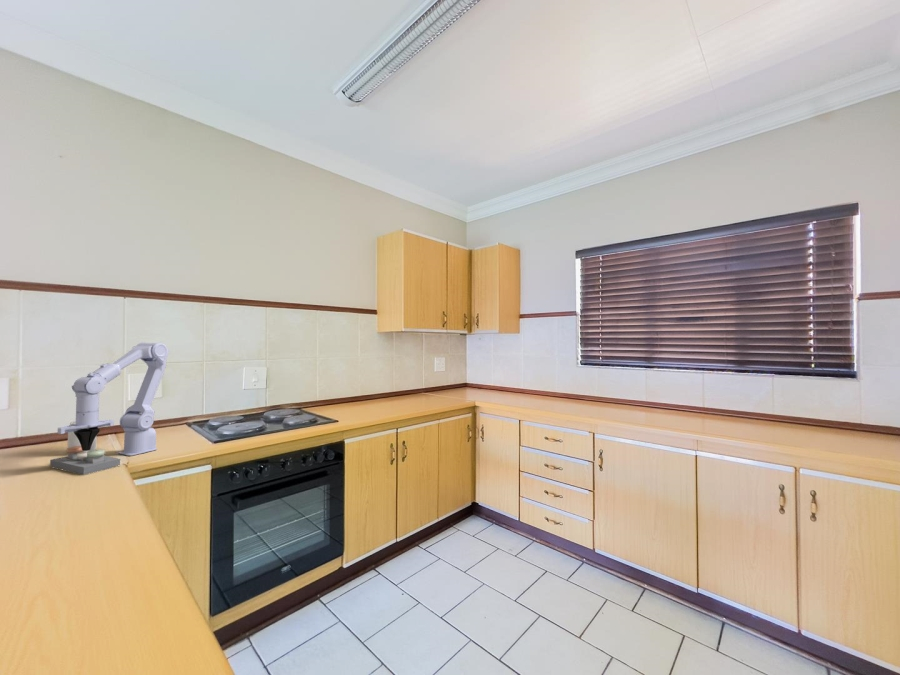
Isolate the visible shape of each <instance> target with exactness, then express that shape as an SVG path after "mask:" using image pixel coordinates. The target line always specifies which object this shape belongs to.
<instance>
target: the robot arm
mask: <svg viewBox="0 0 900 675" xmlns="http://www.w3.org/2000/svg"><path fill="white" fill-rule="evenodd" d="M169 353H170V350H169V349H168V347H167V345H166V344H165V343H162V342H138V343H137V344H136V345H134V346H132V348H131V350H129V351H128V352H126V353H125V354H124V355H122V356H121V357H120V358H118V359H116V361H114V362H113V363H109V362H108V363H102V364H101V365H99V368H97V369H96V370H94V371H92V372H88V373H87V375H86V376H85V377H83V376H82V377H79V378H77V380H75V381H74V383H73V385H71V388H72V391H73V392H74V393H75V397H76V399H75V400H76V401H75V403H76V404H75V421H76V424H75V425H70V424H69V425H70V426H69V425H66V426H62V427H57V434H58V435H64V434H68V432H74V434H75V435H76V437H77V438H78V440H79V442H80V444H81V447H82V450H83V451H87V450H90V449H91V446H92V443H93V441H94V439H95V437H96V436H97V437H98V434H99V433H100V431H101V430H100V428H103V427H111V426H114V422H115V420H114V419H107V420H106V419H105V420H99V413H100V412H99V411H100V410H99V409H100V407H99V406H100V392H102V391H103V390H104V388H105V386H106V385H107V384H108V383H109V382H111V381H112V380H114V379H115V378H117V377H118V376H120V375H121V371H122V370H124V369H125V368H126V367H128V366H130V365H132V364H133V363H135V362H137V361H139V360H141V361H142V362H144V363H145V364H146V365H147V367H148V368H147V370H146V373H145V375H144V378H143V380H142V382H141V385H140V388H139V390H138V392H137V396H136V397H135V400H134V403H133V404H132V405H131V406H128V408H127V409H126V410H125V412H124V414H123V415H121V417H120V419H119V425H120V427H121V428H123V431H124V438H123V440H124V443H123V451H119V452H118V453H120V455H123V456H124V455H125V456H129V457H130V456H131V457H132V456H137V455H141V454H145V453H149V452H153V451H157V450H158V448H157V432H156V430H155V428H154V427H152V426H153V424H154V421H155V420H154V416H155V410H154V409H153V408H152V405H153V402H154V399H155V397H156V393H157V391H158V390H159V389H158V388H159V387H160V384H161V380H162V379H163V375H164V373H165V370H166V368H167V358H168V355H169ZM81 428H82V429H81ZM118 453H117V454H118Z"/></svg>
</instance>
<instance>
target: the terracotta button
mask: <svg viewBox="0 0 900 675" xmlns="http://www.w3.org/2000/svg"><path fill="white" fill-rule="evenodd" d="M80 452H84V451H83V450H82V447H81V446H73V447H69V448H66V453H67V456H68V458H69V459H75V458H77V453H80Z"/></svg>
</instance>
